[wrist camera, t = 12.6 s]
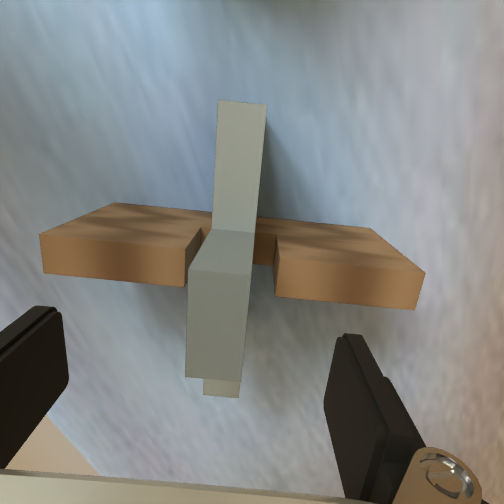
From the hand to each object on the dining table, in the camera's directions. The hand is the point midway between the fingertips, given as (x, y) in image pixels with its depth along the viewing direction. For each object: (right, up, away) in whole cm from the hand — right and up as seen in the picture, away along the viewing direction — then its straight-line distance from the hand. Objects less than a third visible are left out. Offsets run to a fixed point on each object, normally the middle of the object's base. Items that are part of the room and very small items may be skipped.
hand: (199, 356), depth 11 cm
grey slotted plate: (+1, +6, +17) cm, 18 cm away
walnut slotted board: (+1, +6, +17) cm, 18 cm away
